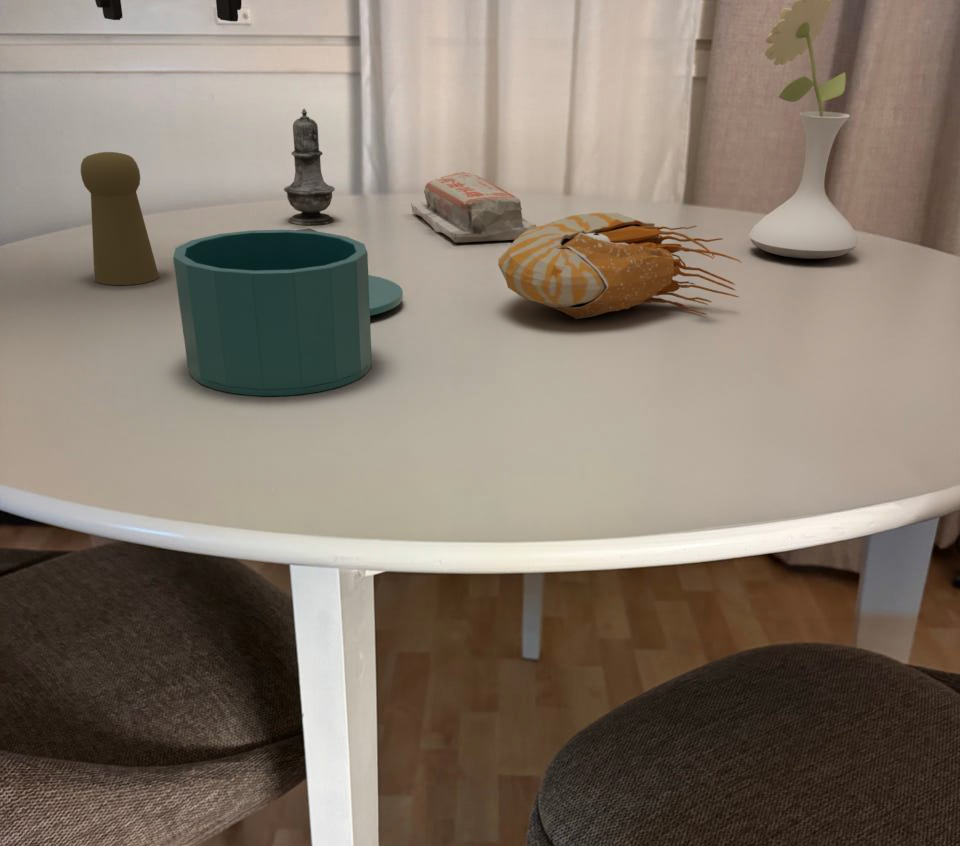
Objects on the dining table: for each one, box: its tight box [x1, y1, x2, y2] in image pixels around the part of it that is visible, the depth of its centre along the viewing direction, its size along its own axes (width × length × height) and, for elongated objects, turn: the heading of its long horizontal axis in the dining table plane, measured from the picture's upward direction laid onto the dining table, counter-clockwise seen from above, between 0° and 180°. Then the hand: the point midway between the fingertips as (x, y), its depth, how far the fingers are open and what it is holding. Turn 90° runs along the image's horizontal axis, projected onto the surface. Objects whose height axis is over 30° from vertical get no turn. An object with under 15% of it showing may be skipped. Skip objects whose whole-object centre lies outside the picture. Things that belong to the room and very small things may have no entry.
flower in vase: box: [748, 0, 859, 260], centre depth 108 cm, size 13×11×25 cm
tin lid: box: [299, 228, 404, 317], centre depth 94 cm, size 15×15×6 cm
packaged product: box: [410, 171, 537, 244], centre depth 124 cm, size 18×5×10 cm
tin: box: [172, 229, 373, 397], centre depth 79 cm, size 14×14×8 cm
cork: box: [80, 151, 160, 286], centre depth 100 cm, size 6×6×11 cm
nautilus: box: [497, 212, 743, 320], centre depth 93 cm, size 8×22×15 cm
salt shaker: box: [283, 108, 335, 226], centre depth 123 cm, size 6×6×12 cm
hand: (172, 19), depth 88 cm, fingers open, 9 cm apart
